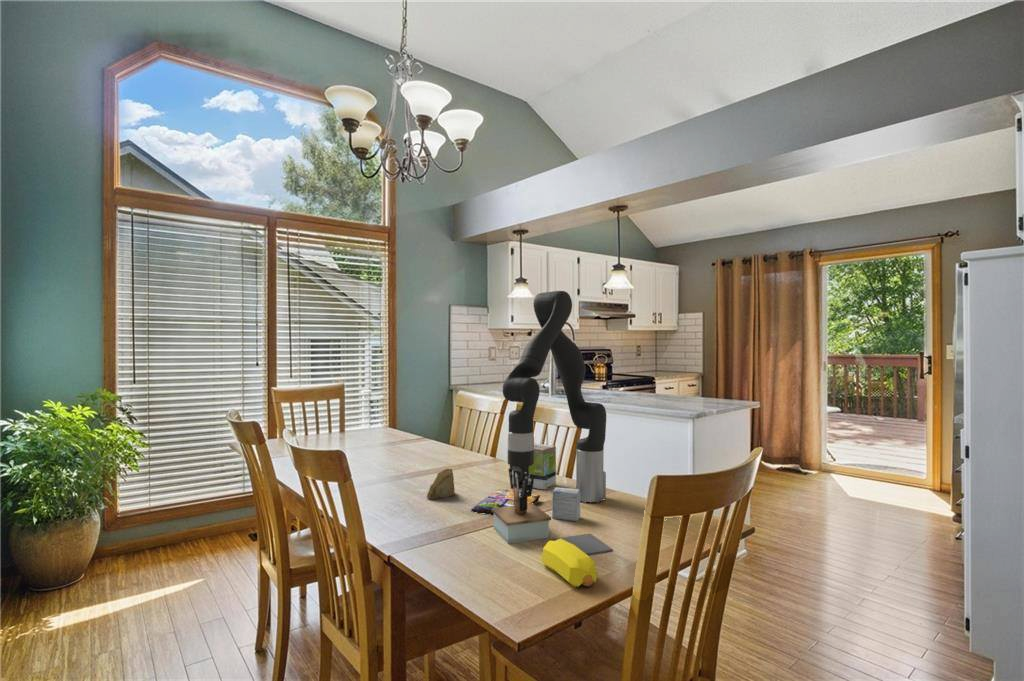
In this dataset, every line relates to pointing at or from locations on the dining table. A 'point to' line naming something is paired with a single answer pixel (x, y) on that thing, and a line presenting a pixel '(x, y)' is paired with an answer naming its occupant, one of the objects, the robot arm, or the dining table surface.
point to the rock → (442, 485)
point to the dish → (521, 531)
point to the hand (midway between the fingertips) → (520, 507)
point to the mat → (587, 543)
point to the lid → (520, 513)
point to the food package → (500, 501)
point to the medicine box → (566, 504)
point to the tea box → (543, 466)
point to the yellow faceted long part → (569, 562)
